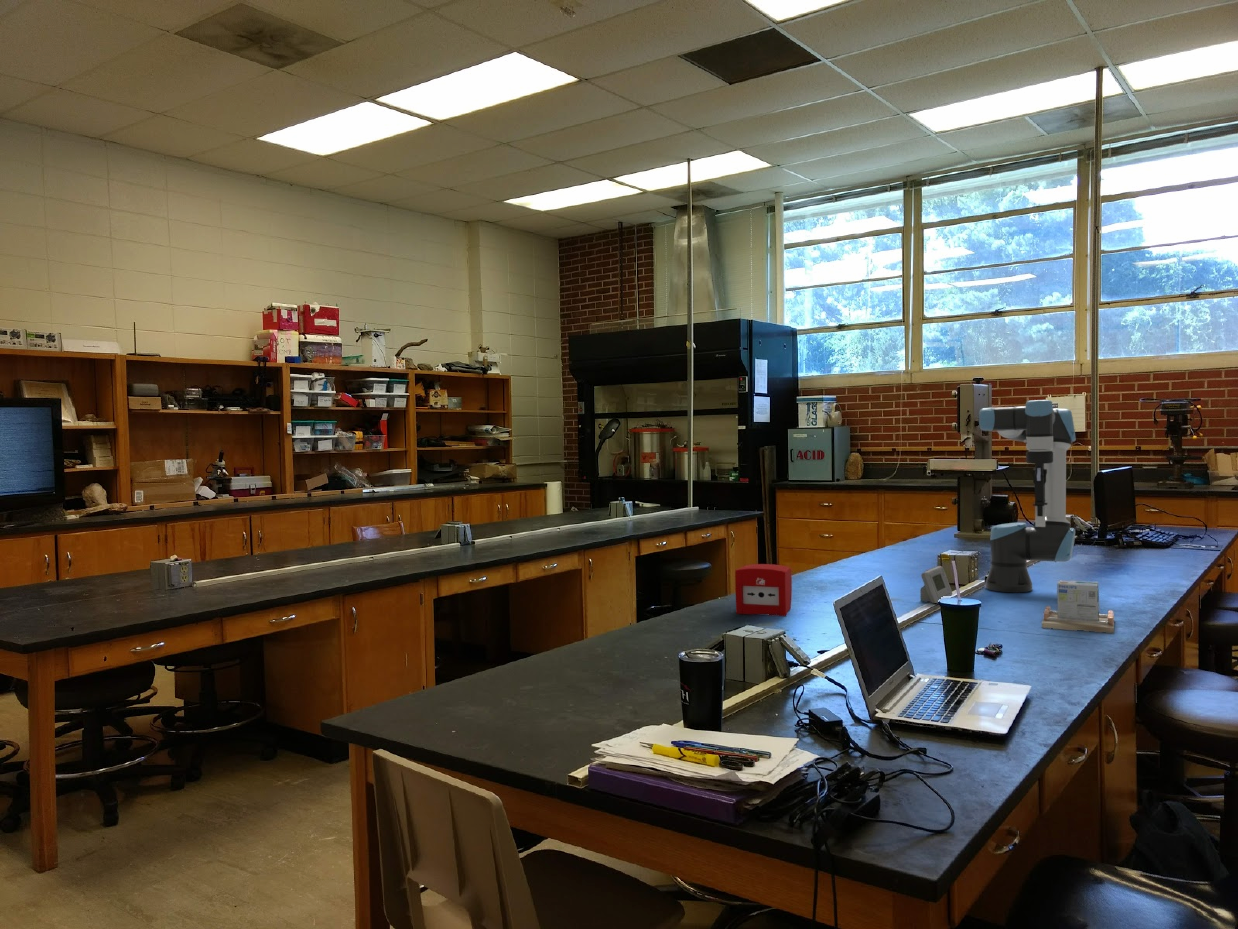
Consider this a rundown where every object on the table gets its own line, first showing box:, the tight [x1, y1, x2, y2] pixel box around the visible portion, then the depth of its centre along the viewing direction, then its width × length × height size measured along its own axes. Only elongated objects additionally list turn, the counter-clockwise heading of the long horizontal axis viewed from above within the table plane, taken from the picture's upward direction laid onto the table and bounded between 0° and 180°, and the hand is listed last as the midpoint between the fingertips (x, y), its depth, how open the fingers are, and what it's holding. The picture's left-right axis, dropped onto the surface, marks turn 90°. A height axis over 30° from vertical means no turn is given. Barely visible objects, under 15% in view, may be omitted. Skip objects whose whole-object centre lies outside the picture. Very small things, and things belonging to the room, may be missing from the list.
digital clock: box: [919, 565, 953, 604], centre depth 297 cm, size 16×9×11 cm, turn 130°
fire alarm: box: [734, 563, 793, 617], centre depth 286 cm, size 16×11×15 cm
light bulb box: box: [1056, 579, 1100, 621], centre depth 256 cm, size 11×7×11 cm, turn 60°
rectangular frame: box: [1043, 605, 1114, 625], centre depth 257 cm, size 11×18×2 cm, turn 60°
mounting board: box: [1041, 614, 1115, 634], centre depth 257 cm, size 18×18×2 cm
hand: (1040, 526), depth 272 cm, fingers closed
